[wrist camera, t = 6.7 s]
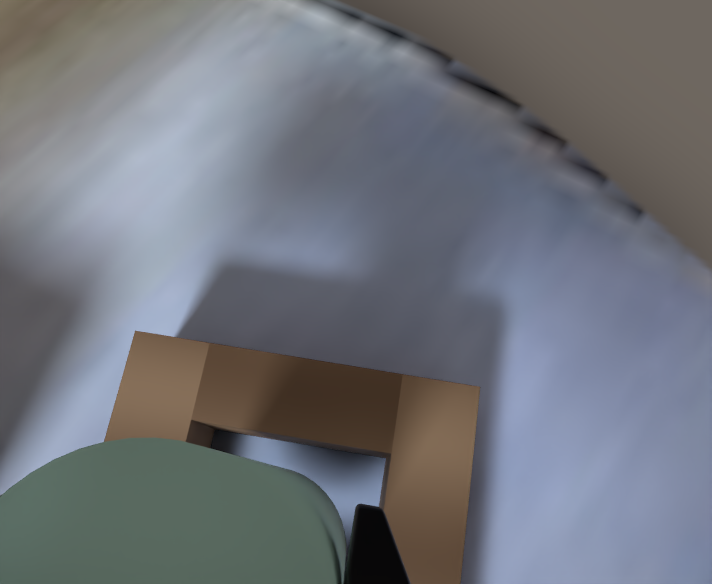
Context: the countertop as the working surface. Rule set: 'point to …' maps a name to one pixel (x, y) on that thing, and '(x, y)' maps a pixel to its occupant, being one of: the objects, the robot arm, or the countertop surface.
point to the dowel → (167, 520)
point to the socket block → (320, 427)
